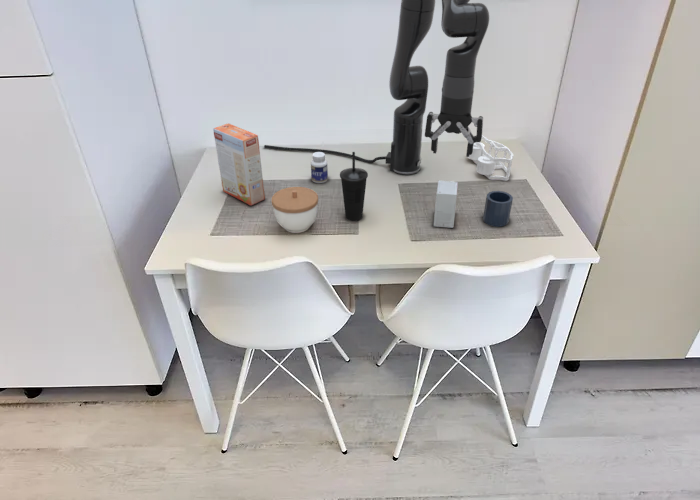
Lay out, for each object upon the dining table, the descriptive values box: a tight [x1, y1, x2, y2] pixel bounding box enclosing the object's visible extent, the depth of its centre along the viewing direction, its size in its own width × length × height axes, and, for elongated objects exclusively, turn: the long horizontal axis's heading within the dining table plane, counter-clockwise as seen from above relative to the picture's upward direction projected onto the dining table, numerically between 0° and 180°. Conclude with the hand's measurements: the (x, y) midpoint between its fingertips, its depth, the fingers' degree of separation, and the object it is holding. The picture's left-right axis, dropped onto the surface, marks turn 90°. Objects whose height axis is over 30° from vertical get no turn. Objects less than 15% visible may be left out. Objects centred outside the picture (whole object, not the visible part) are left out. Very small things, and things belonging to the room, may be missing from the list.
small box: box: [433, 179, 459, 229], centre depth 148 cm, size 8×6×10 cm
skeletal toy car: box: [466, 135, 514, 182], centre depth 175 cm, size 20×11×7 cm, turn 7°
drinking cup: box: [339, 151, 369, 222], centre depth 147 cm, size 8×8×20 cm
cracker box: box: [212, 122, 266, 206], centre depth 158 cm, size 14×6×21 cm, turn 47°
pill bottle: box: [310, 152, 329, 184], centre depth 169 cm, size 5×5×9 cm
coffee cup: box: [482, 190, 514, 228], centre depth 148 cm, size 7×7×8 cm
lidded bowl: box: [270, 186, 319, 234], centre depth 146 cm, size 13×13×11 cm
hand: (451, 154), depth 139 cm, fingers open, 8 cm apart
